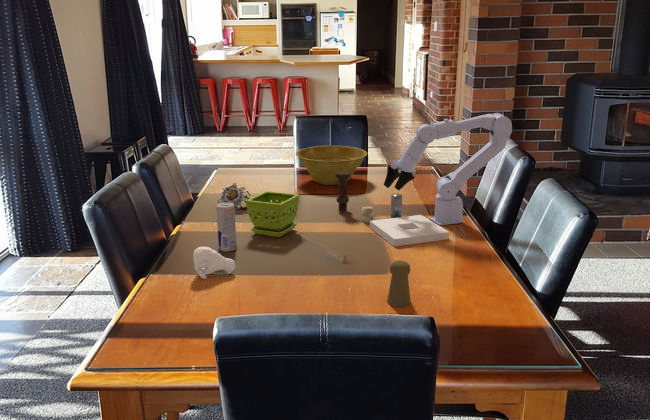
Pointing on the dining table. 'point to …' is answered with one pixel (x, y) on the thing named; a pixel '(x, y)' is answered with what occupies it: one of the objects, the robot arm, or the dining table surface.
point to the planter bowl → (330, 161)
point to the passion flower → (234, 195)
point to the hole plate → (409, 230)
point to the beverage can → (226, 226)
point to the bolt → (342, 190)
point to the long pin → (396, 205)
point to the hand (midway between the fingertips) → (391, 187)
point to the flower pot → (273, 213)
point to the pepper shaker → (399, 284)
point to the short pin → (367, 214)
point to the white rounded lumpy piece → (211, 262)
